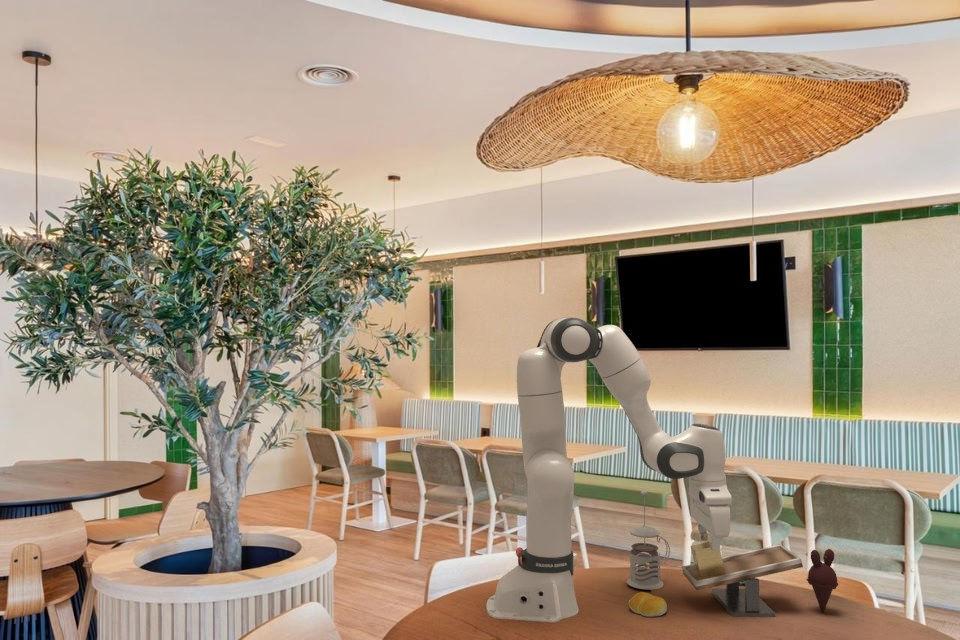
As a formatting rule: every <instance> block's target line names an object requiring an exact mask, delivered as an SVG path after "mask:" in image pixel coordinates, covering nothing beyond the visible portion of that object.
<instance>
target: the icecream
mask: <svg viewBox="0 0 960 640" xmlns="http://www.w3.org/2000/svg"><path fill="white" fill-rule="evenodd" d="M810 560H811V563H812V565H811V567H810V568H809V570H808V574H807V578H806V582H808V585H811V587H812V590H813V592H814V595H815V597H816V600H817V604H818V607H819V609H820V611H821V612H823V613H824V612H825V610H826V607H827V605H828V602H829V600H830V597H831V595H832V592H833V590H836V589H837V587H838V586H839V583H838V576H837V573H836V571H835V569H834V568H833V567H832V564H833V561H834V560H835V553H834V550H832V549H831V548H828V549H826V550H825V551H824V554H823V557H822V560H823V562H822V560H821V556H820V553H819V551H818V550H816V549H812V550H811V552H810Z"/></svg>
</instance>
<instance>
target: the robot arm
mask: <svg viewBox="0 0 960 640" xmlns="http://www.w3.org/2000/svg"><path fill="white" fill-rule="evenodd" d="M517 359H518V360H517V366H516V391H517V403H518V410H519V411H518V412H519V421H520V430H521V431H520V434H521V445H522V446H521V447H522V457H523V458H522V459H523V466H524V467H523V468H524V469H523V470H524V474H525V477H526V481H527V482H526V483H527V495H526V497H527V501H526V515H525V516H526V517H525V529H526V530H525V532H526V533H525V534H526V535H525V536H526V539H525V540H526V541H525V544H526V545H525V546H526V547H525V549H523V548H522V547H517V548H516V549H515V555H516V556H517V565H516V566H514V568H512V569H511V570H510V571H508V572H507V573H506V574H504V575H502V576H501V578H499V580H498V582H497V585H496V589H495V593H494V594H493V595H491V596H490V597H489V598H488V599H487V601H486V605H485V606H486V607H485V608H486V609H485V610H486V613H487V614H488V615H489V616H490V617H492V618H494V619H500V620H514V621H528V622H541V623H558V622H560V621H561V620H564V619H567V618H570V617H574V616H576V615H577V614H578V613H579V610H580V608H579V605H578V602H577V598H576V592H575V586H574V577H573V575H574V571H575V556H574V552H573V550H572V516H573V515H572V514H573V505H574V493H575V490H574V489H575V470H574V468H573V465H572V464H571V463H570V461H569V459H568V455H567V439H566V438H567V437H566V435H567V434H566V433H567V432H566V430H567V428H566V425H567V421H566V414H565V411H566V410H565V404H564V395H563V387H562V380H561V377H562V370H563V368H564V365H565V364H566V363H580V362H583V361H589V362H590V363H592V365H593V366H594V367H595V370H597V373H598V375H599V377H600V378H601V380H602V382H603V384H604V385H605V386H606V388H607V389H608V391H609V393H610V394H611V395H612V396H613V397H614V399H615V400H616V401H617V403H618V404H619V405H620V406H621V408H622V409H623V411H624V412H625V415H626V416H627V419H628V421H629V422H630V424H631V426H632V429H633V430H634V432H635V434H636V436H637V438H638V439H637V440H638V444H639V453H640V458H641V460H642V463H644V465H645V466H646V467H647V468H648V469H649V470H651V471H655V472H657V473H659V474H660V475H661V476H664V477H665V478H667V479H670V480H679V479H684V478H685V479H686V478H688V486H689V487H688V489H689V490H688V491H689V494H688V495H689V497H690V503H689V505H690V506H689V507H690V508H689V509H690V510H689V511H690V516H691V518H692V519H693V520H695V522H696V526H697V530H698V538H699V539H700V541H702V542H704V541H706V542H708V540H709V537H708V536H709V535H708V533H709V534H710V536H711V541H712V543H711V550H712V551H713V552H721V543H722V540H723V538H728V537H729V535H730V532H731V508H730V507H731V506H730V505H732V504H733V498H732V497H733V496H732V493H730V491H729V489H728V485H727V476H726V473H725V464H726V448H725V447H726V446H725V445H726V444H725V439H724V435H723V433H722V431H721V430H720V429H719V428H717V427H715V426H712V425H708V424H703V423H693V424H691V425H690V426H689V427H688V428H687V429H685V430H683V431H682V432H680V433H679V434H677V435H674V436H671V435H669V434H668V433H667V432H666V431H664V430H663V428H661V425H660V424H659V422H658V420H657V418H656V416H655V415H654V413H653V410H652V408H651V407H650V404H649V402H648V397H647V396H648V395H647V394H648V391H649V389H650V387H651V383H652V380H651V377H650V373H649V371H648V368H647V366H646V364H645V362H644V360H643V358H642V356H641V354H640V352H639V351H638V349H637V348H636V347H635V345H634V344H633V342H632V341H631V339H630V338H629V337H628V335H626V333H625V332H624V330H623V329H621V328H620V326H618V325H616V324H615V325H614V324H606V325H602V326H599V327H598V328H597V327H595V326H593V325H592V324H591V323H589V322H587V321H586V320H583V319H581V318H578V317H571V316H563V317H560V318H556V319H554V320H552V321H550V322H549V323H548V324H547V325H546V326H545V328H544V329H543V331H542V334H541V337H540V339H539V341H538V343H537V345H536V347H533V348H532V347H531V348H529V349H527V350H525V351H523V352H522V353H521V354H520V355H519V356H518V358H517Z"/></svg>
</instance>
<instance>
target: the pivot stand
mask: <svg viewBox="0 0 960 640" xmlns="http://www.w3.org/2000/svg"><path fill="white" fill-rule="evenodd" d="M711 594H712V596H713V597H714V598H715V599H716V600H717V602H718V603H719V604H720V605H721V606H722V607H723V608H724V610H726V612H727V613H728V614H729V615H730V616H731V617H733V618H776V616H777V615H776V612H775V611H774V610H773V609H772V608H771V607H769V605H767V603H766V602H764V601H763V599H762V598H760V578H759V577H757V578H745V583H744V588H740V582H734V583H730V584H726V585H725V588H711Z"/></svg>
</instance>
